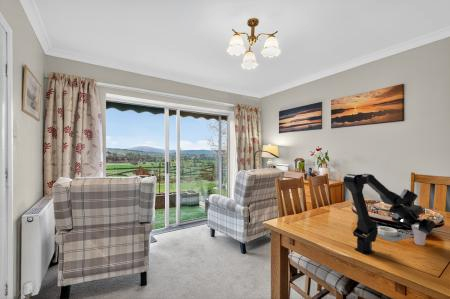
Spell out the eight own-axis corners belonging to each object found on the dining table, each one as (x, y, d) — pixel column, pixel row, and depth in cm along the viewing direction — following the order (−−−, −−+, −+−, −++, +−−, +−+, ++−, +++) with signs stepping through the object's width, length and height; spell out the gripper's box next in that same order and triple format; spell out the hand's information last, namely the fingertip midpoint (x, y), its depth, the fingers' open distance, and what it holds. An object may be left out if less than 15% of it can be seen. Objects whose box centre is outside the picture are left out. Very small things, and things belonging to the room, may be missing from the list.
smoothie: (411, 244, 113) (410, 218, 114) (412, 241, 118) (411, 215, 118) (427, 248, 109) (426, 221, 109) (428, 244, 113) (427, 218, 113)
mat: (393, 242, 116) (393, 242, 116) (361, 231, 133) (361, 230, 133) (414, 236, 124) (414, 235, 124) (382, 227, 140) (382, 226, 140)
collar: (390, 237, 122) (390, 233, 122) (373, 231, 131) (373, 227, 131) (401, 234, 125) (401, 230, 126) (383, 229, 134) (383, 225, 134)
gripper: (432, 204, 104) (451, 225, 106) (395, 196, 122) (411, 214, 124) (419, 222, 102) (438, 243, 104) (383, 211, 121) (400, 229, 122)
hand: (421, 231), depth 114 cm, fingers closed on smoothie, 6 cm apart
